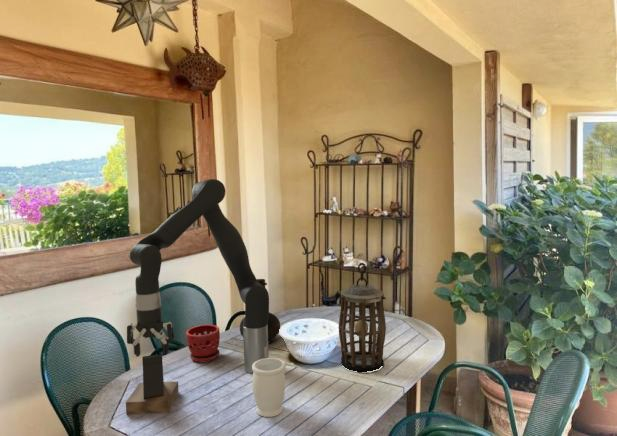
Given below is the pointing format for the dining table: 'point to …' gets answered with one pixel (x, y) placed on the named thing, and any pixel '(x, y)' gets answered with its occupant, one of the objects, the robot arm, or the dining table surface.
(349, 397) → the dining table surface
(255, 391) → the jar
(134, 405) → the walnut plinth
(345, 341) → the lantern
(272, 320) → the black rounded vessel
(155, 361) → the phone stand
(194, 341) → the plant pot
